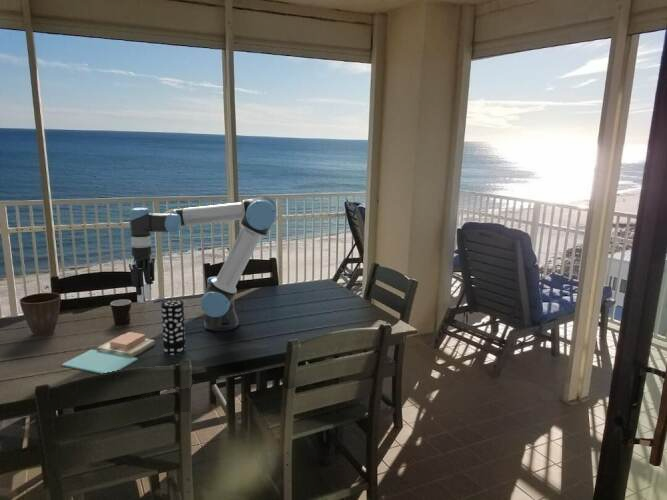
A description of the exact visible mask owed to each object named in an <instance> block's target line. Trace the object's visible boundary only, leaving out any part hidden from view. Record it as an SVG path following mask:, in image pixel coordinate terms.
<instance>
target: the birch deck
mask: <svg viewBox="0 0 667 500" xmlns="http://www.w3.org/2000/svg"><path fill="white" fill-rule="evenodd" d="M122 335H123V334H121V335H119V336H117V337H115V338H112V339H111V340H108V341H106V342H105V343H103V344H101V345H99V346H96V348H97V349H96V350H97V351H102V352H108V353H113V354H118V355H124V356H129V357H134V358H135V357H136V356H138V355H139V354H141V353H144V352H145V351H146V350H148V349H149V348H151V347H154V346H155V345H156V343H155V340H156V339H152V338H151V339H149V338H146V339H145V340H143V341H141V342H140V343H138V344H136V345H134V346H132V347H130V348H129V349H122V348H116V347H111V346H110V341H112V340H114V339H116V338H118V337H120V336H122Z"/></svg>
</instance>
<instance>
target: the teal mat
mask: <svg viewBox="0 0 667 500" xmlns="http://www.w3.org/2000/svg"><path fill="white" fill-rule="evenodd" d="M138 359H139V358H137V357H135V356H134V357H129V356H124V355H118V354H113V353H108V352H102V351H97V349H90V350H88V351H86V352H84V353H82V354H79V355H77V356H75V357H73V358H72V359H69V360H68V361H65V362H64V363H62V364H61V365H62V366H63V367H67V368H71V369H77V370H81V371H86V372H92V373H97V374H101V375H104V374H103V373H107V372H112V371H117V370H119V371H121V370H122V369H124V368H126V367H128V366H129V365H131V364H133V363H134V362H136V361H138Z"/></svg>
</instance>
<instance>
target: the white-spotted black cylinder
mask: <svg viewBox="0 0 667 500" xmlns="http://www.w3.org/2000/svg"><path fill="white" fill-rule="evenodd" d="M184 305H185V304H184V301H183V300H180V299H169V300H164V301H162V302H161V305H160V306H161V322H162V323H161V325H162V327H161V328H162V345H163V353H164V354H166V355H169V356H174V355H176V356H177V355H181V354H183V353H185V351H186V331H185V330H186V329H185V327H186V325H185V306H184Z"/></svg>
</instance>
